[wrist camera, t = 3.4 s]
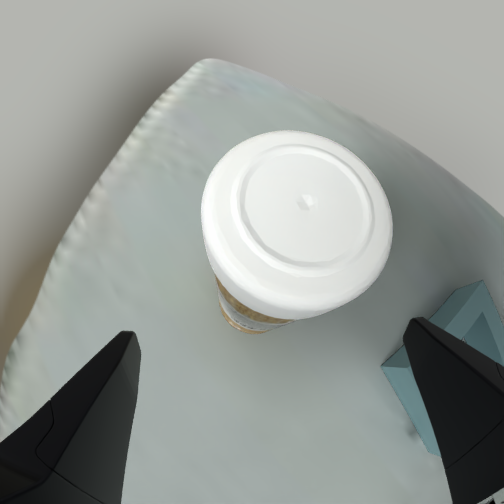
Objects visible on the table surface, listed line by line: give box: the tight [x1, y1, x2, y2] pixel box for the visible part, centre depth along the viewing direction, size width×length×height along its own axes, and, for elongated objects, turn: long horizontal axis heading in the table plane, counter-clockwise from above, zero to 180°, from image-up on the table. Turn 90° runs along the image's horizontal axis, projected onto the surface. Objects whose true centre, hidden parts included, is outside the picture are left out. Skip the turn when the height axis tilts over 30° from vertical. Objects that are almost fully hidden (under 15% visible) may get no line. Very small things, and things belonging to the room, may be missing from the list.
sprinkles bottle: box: [201, 130, 393, 334], centre depth 12 cm, size 5×5×13 cm
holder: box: [381, 280, 504, 457], centre depth 16 cm, size 10×10×4 cm
